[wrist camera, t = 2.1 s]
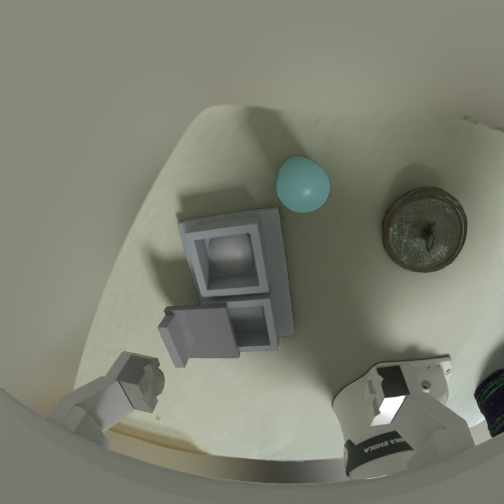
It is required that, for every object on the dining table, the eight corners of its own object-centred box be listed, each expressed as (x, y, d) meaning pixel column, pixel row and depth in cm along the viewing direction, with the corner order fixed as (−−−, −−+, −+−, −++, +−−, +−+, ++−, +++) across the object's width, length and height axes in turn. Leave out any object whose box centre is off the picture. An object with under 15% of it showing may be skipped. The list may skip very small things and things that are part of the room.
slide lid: (166, 306, 29) (155, 323, 26) (226, 303, 28) (220, 321, 25) (185, 353, 32) (177, 370, 29) (240, 353, 31) (235, 372, 28)
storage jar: (484, 399, 38) (503, 443, 24) (466, 398, 37) (487, 447, 24) (511, 370, 34) (535, 413, 20) (496, 366, 34) (523, 414, 20)
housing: (181, 220, 30) (166, 232, 26) (278, 206, 28) (277, 216, 24) (213, 333, 36) (205, 354, 32) (294, 329, 34) (294, 351, 30)
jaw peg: (315, 153, 26) (326, 157, 18) (320, 191, 27) (332, 209, 20) (276, 158, 26) (272, 163, 19) (282, 196, 28) (280, 215, 20)
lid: (460, 239, 26) (481, 255, 22) (402, 282, 30) (417, 304, 25) (430, 166, 24) (453, 172, 19) (364, 213, 27) (378, 227, 23)
